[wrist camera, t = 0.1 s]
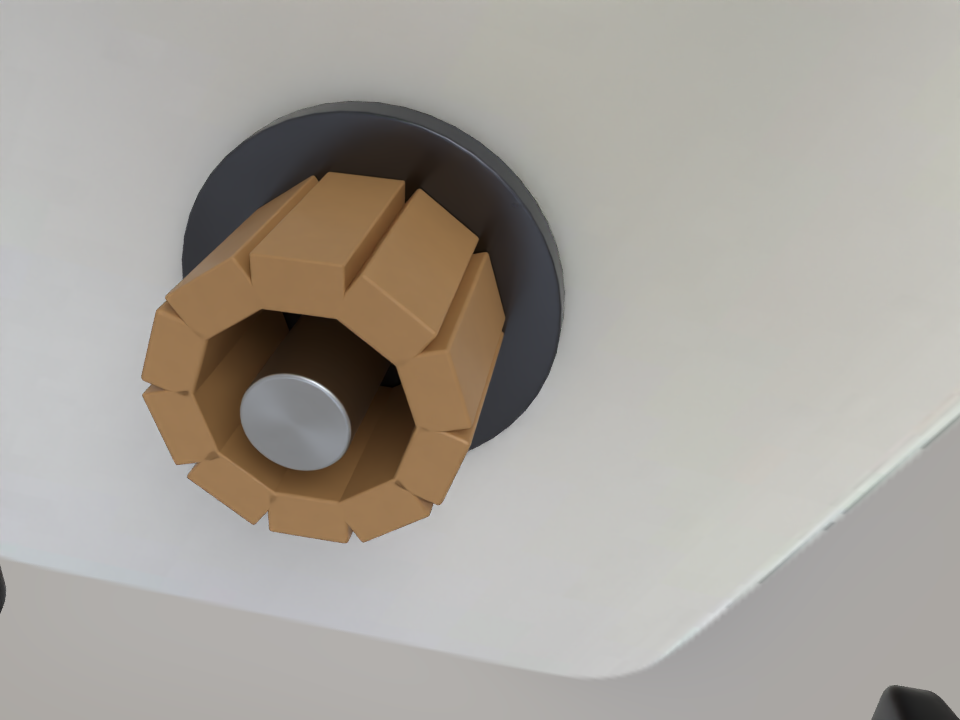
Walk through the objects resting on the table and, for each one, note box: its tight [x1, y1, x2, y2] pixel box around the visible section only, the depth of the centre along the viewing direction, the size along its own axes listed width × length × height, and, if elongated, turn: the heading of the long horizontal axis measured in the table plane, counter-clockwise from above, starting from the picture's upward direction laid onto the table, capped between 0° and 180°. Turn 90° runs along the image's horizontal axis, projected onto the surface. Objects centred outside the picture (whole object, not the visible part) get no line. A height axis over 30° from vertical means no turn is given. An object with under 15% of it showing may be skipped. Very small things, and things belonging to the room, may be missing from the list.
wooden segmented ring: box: [141, 172, 505, 543], centre depth 21 cm, size 7×7×5 cm
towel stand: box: [182, 101, 565, 471], centre depth 22 cm, size 10×10×6 cm
